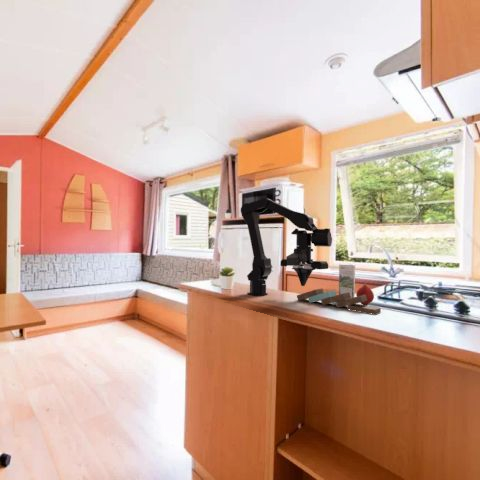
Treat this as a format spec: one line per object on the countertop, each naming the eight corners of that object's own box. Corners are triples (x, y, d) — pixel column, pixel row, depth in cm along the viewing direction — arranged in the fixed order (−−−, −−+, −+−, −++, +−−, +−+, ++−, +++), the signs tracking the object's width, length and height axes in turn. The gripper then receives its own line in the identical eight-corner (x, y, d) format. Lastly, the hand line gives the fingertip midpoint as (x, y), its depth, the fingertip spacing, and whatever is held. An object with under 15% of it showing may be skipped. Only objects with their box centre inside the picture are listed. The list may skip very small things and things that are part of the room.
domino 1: (296, 295, 116) (315, 289, 110) (303, 294, 119) (322, 288, 113) (298, 300, 115) (317, 294, 109) (305, 299, 119) (324, 293, 113)
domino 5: (347, 305, 101) (375, 309, 95) (353, 303, 104) (380, 307, 98) (347, 311, 101) (375, 316, 95) (353, 309, 104) (380, 313, 98)
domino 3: (320, 299, 108) (342, 293, 102) (327, 298, 111) (349, 292, 106) (322, 305, 107) (344, 299, 102) (329, 303, 111) (351, 297, 105)
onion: (353, 304, 111) (353, 282, 111) (368, 304, 111) (368, 282, 111) (361, 307, 105) (361, 284, 105) (376, 307, 105) (377, 284, 106)
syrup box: (354, 299, 121) (355, 263, 121) (353, 301, 116) (354, 264, 116) (339, 298, 123) (340, 262, 124) (338, 300, 118) (338, 263, 118)
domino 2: (308, 297, 112) (328, 291, 106) (315, 296, 115) (335, 290, 109) (309, 302, 111) (330, 297, 105) (316, 301, 115) (336, 295, 109)
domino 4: (335, 301, 104) (360, 295, 99) (341, 300, 108) (365, 294, 102) (337, 307, 104) (362, 301, 98) (343, 305, 107) (367, 300, 102)
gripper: (272, 245, 118) (271, 284, 118) (312, 246, 105) (312, 291, 104) (289, 245, 126) (288, 282, 126) (329, 246, 112) (328, 288, 112)
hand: (302, 286), depth 117 cm, fingers closed
